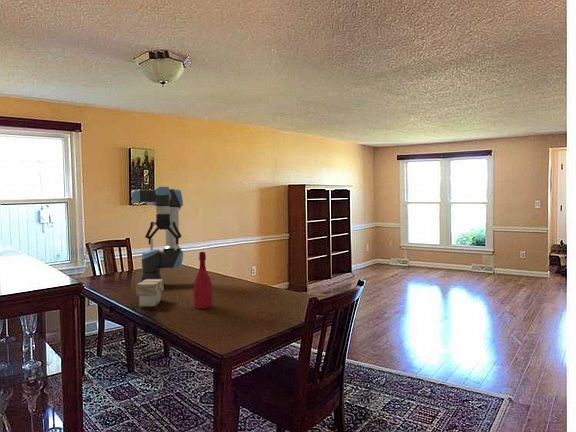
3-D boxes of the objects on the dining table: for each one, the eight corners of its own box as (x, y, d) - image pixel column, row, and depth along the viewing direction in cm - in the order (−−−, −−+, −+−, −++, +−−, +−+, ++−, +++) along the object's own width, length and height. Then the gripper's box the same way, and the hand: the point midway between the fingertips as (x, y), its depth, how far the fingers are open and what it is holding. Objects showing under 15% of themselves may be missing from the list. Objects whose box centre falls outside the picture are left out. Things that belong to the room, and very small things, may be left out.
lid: (146, 289, 246) (146, 279, 246) (163, 289, 246) (163, 279, 246) (136, 295, 231) (136, 284, 231) (154, 295, 231) (154, 284, 231)
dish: (145, 300, 245) (145, 290, 245) (160, 300, 245) (160, 289, 245) (139, 306, 232) (139, 295, 232) (155, 306, 232) (155, 295, 232)
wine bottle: (216, 306, 232) (215, 251, 230) (203, 310, 223) (203, 253, 221) (202, 303, 237) (201, 250, 235) (189, 308, 228) (189, 252, 226)
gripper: (138, 214, 241) (140, 251, 243) (183, 213, 242) (184, 250, 244) (142, 213, 248) (143, 249, 250) (186, 212, 250) (186, 248, 251)
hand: (163, 250), depth 247 cm, fingers open, 13 cm apart
